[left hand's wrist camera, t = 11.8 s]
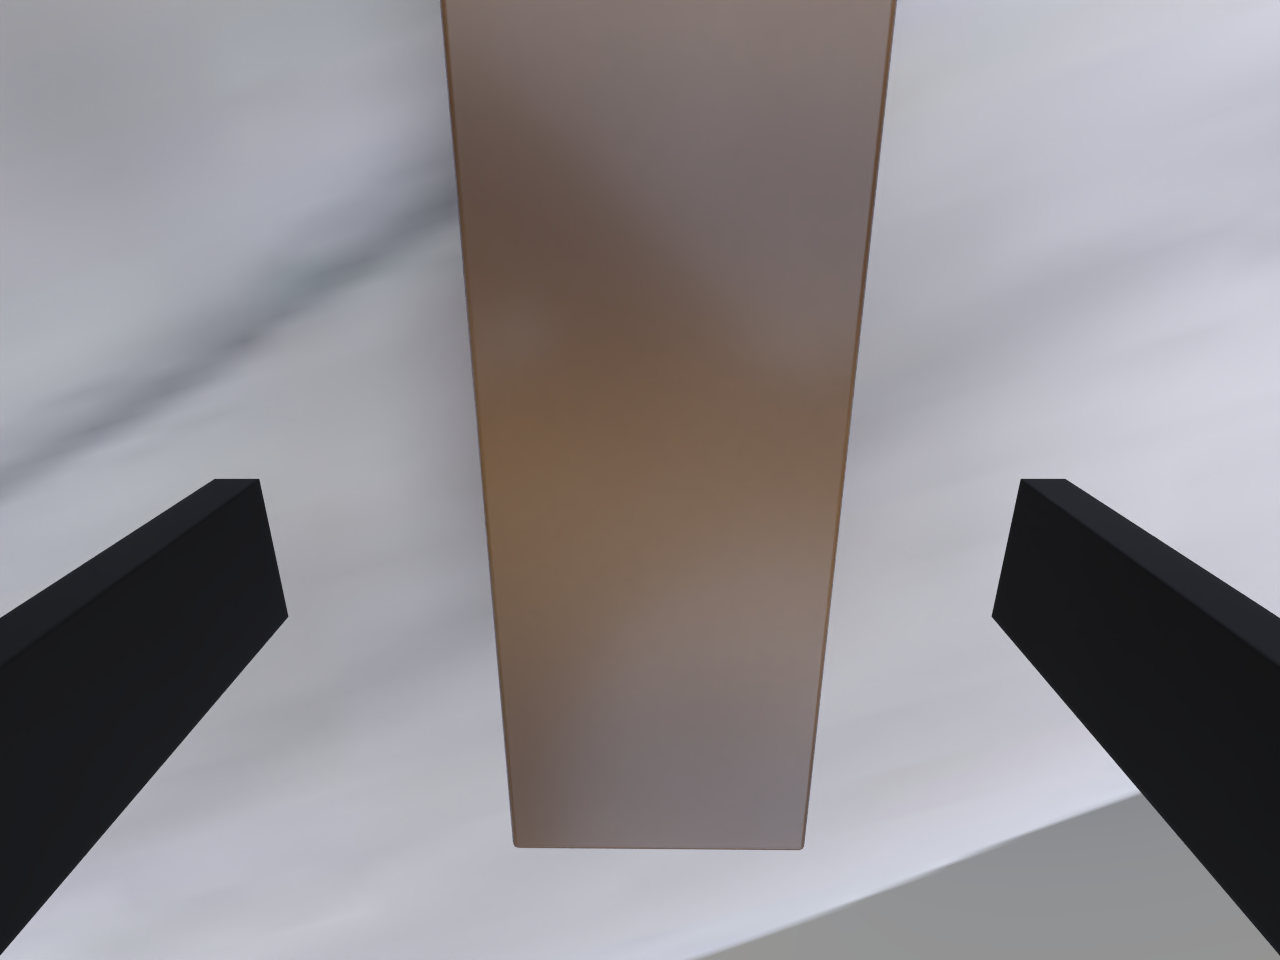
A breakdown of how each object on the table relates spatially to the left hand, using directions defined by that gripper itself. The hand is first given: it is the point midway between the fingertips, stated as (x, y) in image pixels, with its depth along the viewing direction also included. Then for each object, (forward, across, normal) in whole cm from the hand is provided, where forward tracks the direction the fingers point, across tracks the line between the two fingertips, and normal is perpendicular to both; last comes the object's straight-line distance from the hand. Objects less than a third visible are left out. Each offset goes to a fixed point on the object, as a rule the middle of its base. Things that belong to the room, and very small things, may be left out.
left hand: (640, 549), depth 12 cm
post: (+5, 0, -24) cm, 25 cm away
